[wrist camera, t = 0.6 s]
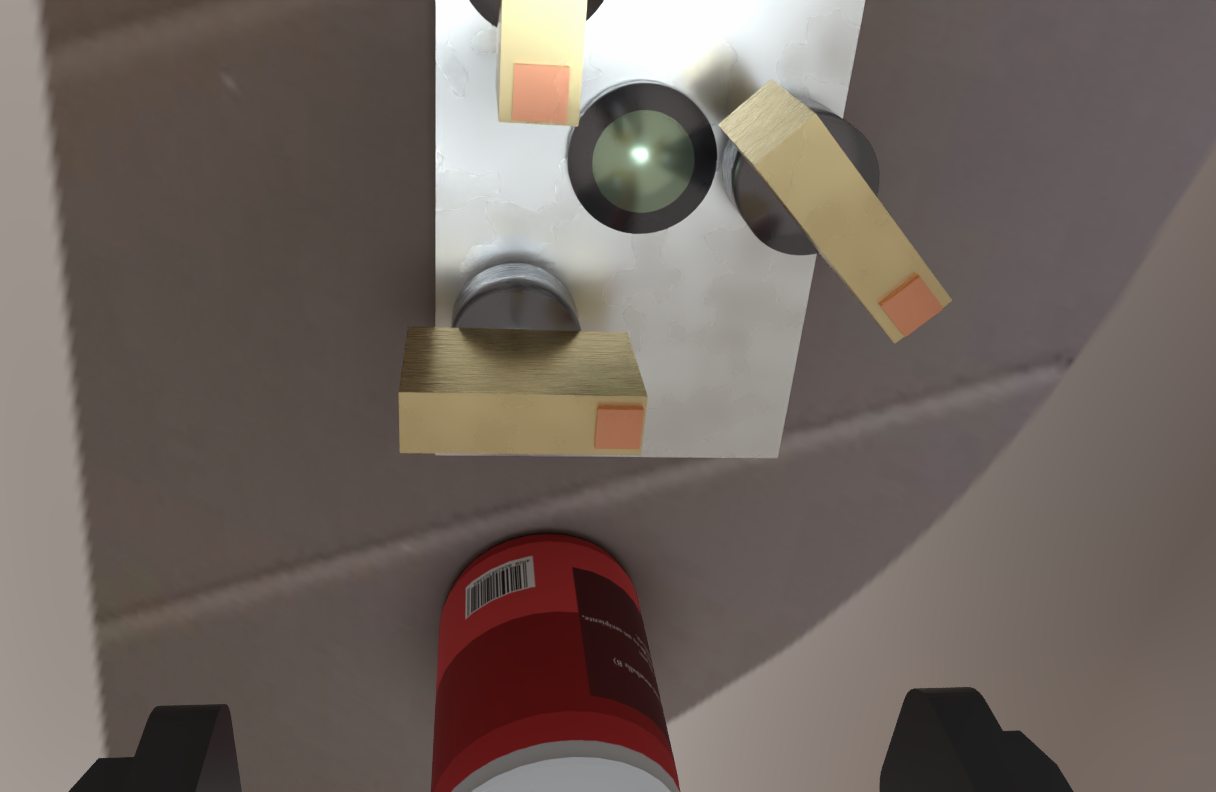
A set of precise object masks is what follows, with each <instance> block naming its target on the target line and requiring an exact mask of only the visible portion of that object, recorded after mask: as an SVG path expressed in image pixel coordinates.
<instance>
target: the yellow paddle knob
mask: <svg viewBox="0 0 1216 792" xmlns="http://www.w3.org/2000/svg"><path fill="white" fill-rule="evenodd" d="M718 125H719V127H720V128H721V129H722V130H723V132H724V133H725V134H726V135H727V137H728V138H729V140H728V142H727V144H726V147H725V150H724V154H723V159H722V169H721V170H722V181H723V186H724V189H725V192H726V194H727V196H728V198H729V200H730V202H731V203H732V205H733V206H734V207H735V209H736V210H737V211H738V213H739V214H740V216H741V217H742V218H743V220H744V221H745V222H746V224H747V225H748V227H749V228H750V229H751V231H752V232H753V233H754V235H755V236H756V237H757V238H758V239H759V240H760V241H761V242H763V243H764V244H765V245H767V246H768V247H770V248H772V249H774V250H776V251H779V252H781V253H785V254H789V255H812V254H817V253H820V254H821V256H822V257H823V258H824V259H825V261H826V262H827V263H828V265H829V266H830V267H831V268H832V270H833V271H834V272H835V273H836V275H837V276H838V277H839V278H840V280H841V281H842V282H843V284H844V285H845V286H846V287H847V288H848V290H849V291H850V292H851V293H852V294H853V295H854V297H855V298H856V299H857V300H858V301H859V302H860V304H861V305H862V306H863V307H864V308H865V309H866V311H867V312H868V313H869V314H870V315H871V317H872V318H873V319H874V320H875V321H876V322H877V324H878V325H879V326H880V327H881V328H882V329H883V331H884V332H885V333H886V334H887V335H888V336H889V338H890V339H891V340H892V341H893V342H894V343H897V342H898V341H899V340H901V339H902V338H903V337H906V336H908V335H909V334H910V333H912V332H913V331H914V330H916V329H917V328H918V327H920V326H921V325H922V324H924V323H925V322H926V321H928V320H929V319H930V318H932V317H933V316H934V315H936V314H937V313H938V312H940V311H941V310H942V309H944V308H943V307H944V306H946V305H947V304H948V303H950V302H951V301H952V300H951V298H950V297H949V296H948V294H947V293H946V291H945V290H944V289H943V287H942V286H941V285H940V283H939V282H938V280H937V279H936V278H935V276H934V275H933V274H932V272H931V271H930V269H929V268H928V267H927V265H926V264H925V263H924V261H923V260H922V259H921V257H920V256H919V254H918V253H917V252H916V250H915V249H914V248H913V246H912V245H911V243H910V242H909V241H908V239H907V238H906V237H905V235H904V234H903V232H902V231H901V230H900V228H899V227H898V226H897V224H896V223H895V221H894V220H893V219H892V217H891V216H890V215H889V213H888V212H887V210H886V209H885V208H884V206H883V205H882V204H881V202H880V201H879V200H878V198H877V197H876V196H877V193H878V187H879V166H878V161H877V158H876V155H875V152H874V150H873V148H872V146H871V144H870V143H869V141H868V140H867V139H866V138H865V136H864V135H863V134H862V133H861V132H860V131H859V130H857V129H856V128H855V127H853V126H852V125H851V124H849V123H848V122H847V121H845V120H844V119H842V118H841V117H840V116H838V115H837V114H836V113H834V112H833V111H831V110H830V109H829V108H827V107H826V106H824V105H823V104H821V103H819V102H816V101H814V100H811V99H807V98H801V97H794V96H792V95H791V94H790V93H788V92H787V91H786V90H784V89H783V88H782V87H781V86H779V85H778V84H777V83H775V82H774V81H773V80H769V81H768V82H767V83H766V84H765V85H764V86H762V87H761V88H760V89H759V90H758V91H757V92H755V93H754V94H753V95H752V96H751V97H750V98H748V99H747V100H746V101H745V102H744V103H743V104H741V105H740V106H739V107H738V108H737V109H736V110H734V111H733V112H732V113H731V114H730V115H729V116H727V117H726V118H725V119H724V120H723V121H722V122H720V123H719V124H718Z"/></svg>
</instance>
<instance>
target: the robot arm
mask: <svg viewBox="0 0 1216 792" xmlns="http://www.w3.org/2000/svg"><path fill="white" fill-rule="evenodd" d="M69 792H242V790H241V783H240V776H239V769H238V762H237V755H236V748H235V741H234V735H233V728H232V721H231V714H230V710H229V707H228V706H227V705H226V704H214V705H175V706H157V707H155V708H154V709H153V711H152V712H151V714H150V716H149V718H148V721H147V723H146V726H145V729H144V731H143V734H142V737H141V740H140V743H139V745H138V748H137V751H136V754H135V756H134V757H124V758H99V759H98V760H97V761H96V762H95V763H94V764H93V765H92V766H91V767H90V768H89V770H88V771H87V772H86V773H85V774H84V775H83V776H82V777H81V778H80V780H79V781H78V782H77V783H76V784H75V785H74V786H73V787H72V788H71V790H70V791H69ZM880 792H1073V790H1072V789H1071V787H1070V785H1069V784H1068V782H1067V780H1066V779H1065V777H1064V776H1063V774H1062V773H1061V771H1060V769H1059V767H1058V766H1057V764H1056V763H1054V762H1053V761H1052V760H1051V759H1050V758H1049V757H1048V756H1047V755H1045V753H1044V752H1043V751H1041V750H1040V749H1039V748H1038V747H1037V746H1036V745H1035V744H1034V743H1033V742H1032V741H1031V740H1030V739H1028V738H1027V737H1026V736H1025V735H1024V734H1023V733H1022V732H1021V731H1003V730H1002V729H1001V727H1000V725H999V724H998V722H997V720H996V718H995V716H994V715H993V713H992V711H991V709H990V708H989V706H988V704H987V703H986V701H985V699H984V698H983V696H982V695H981V694H980V693H979V692H978V691H977V690H976V689H974V688H971V687H956V688H919V689H912V690H910V691H909V692H908V693H907V695H906V697H905V699H904V702H903V705H902V708H901V711H900V714H899V717H898V720H897V723H896V727H895V730H894V733H893V736H892V739H891V742H890V745H889V748H888V751H887V754H886V757H885V761H884V764H883V767H882V771H881V775H880Z"/></svg>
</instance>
